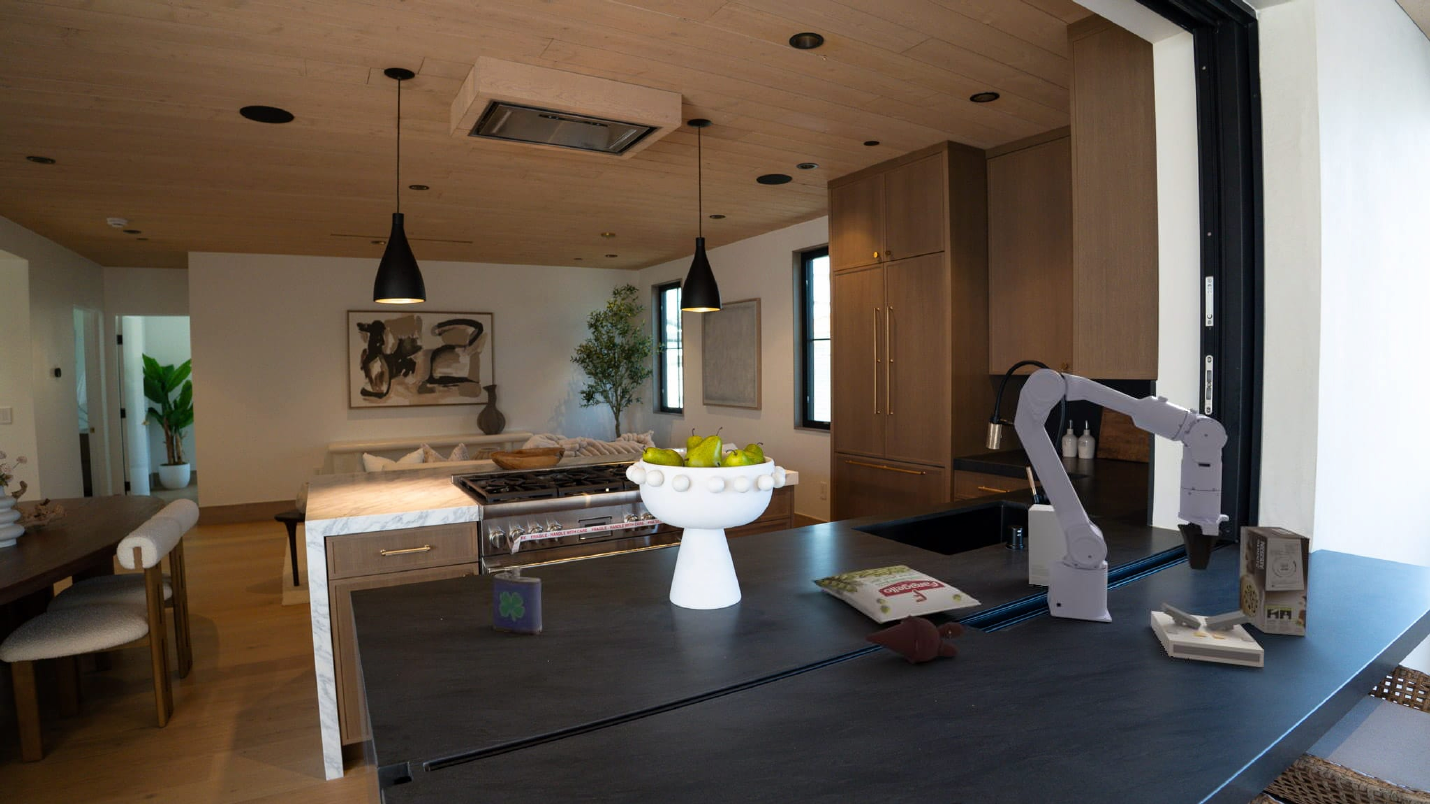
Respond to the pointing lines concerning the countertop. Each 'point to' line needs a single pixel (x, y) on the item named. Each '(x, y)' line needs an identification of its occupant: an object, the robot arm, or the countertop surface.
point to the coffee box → (1274, 579)
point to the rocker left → (1180, 616)
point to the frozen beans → (895, 593)
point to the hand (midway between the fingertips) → (1197, 568)
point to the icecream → (918, 639)
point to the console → (1207, 641)
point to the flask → (517, 603)
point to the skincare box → (1044, 542)
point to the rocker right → (1226, 620)
